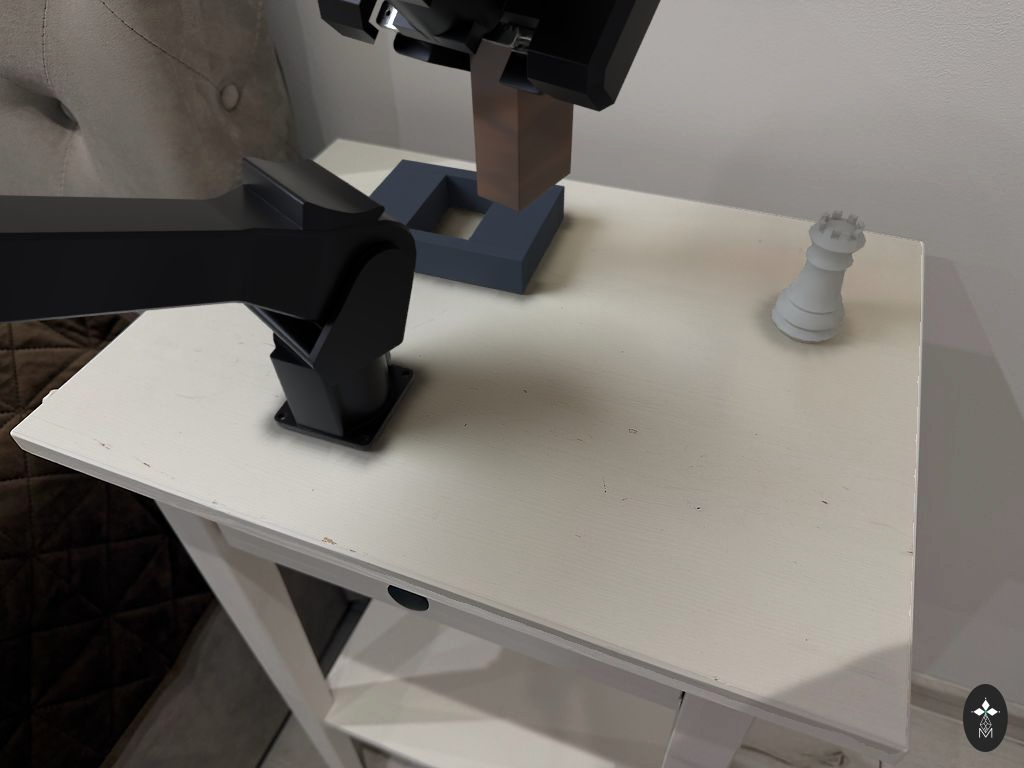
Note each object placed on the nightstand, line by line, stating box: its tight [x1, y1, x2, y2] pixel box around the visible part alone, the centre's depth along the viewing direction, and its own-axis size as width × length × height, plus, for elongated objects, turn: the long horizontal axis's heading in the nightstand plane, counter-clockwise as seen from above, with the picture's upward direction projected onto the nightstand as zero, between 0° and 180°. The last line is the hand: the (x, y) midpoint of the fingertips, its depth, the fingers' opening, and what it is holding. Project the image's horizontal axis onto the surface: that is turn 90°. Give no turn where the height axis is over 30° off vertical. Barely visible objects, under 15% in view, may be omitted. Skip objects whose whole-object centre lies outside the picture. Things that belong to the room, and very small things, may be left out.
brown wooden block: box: [469, 24, 575, 211], centre depth 43 cm, size 4×6×12 cm, turn 143°
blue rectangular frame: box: [368, 158, 566, 295], centre depth 53 cm, size 10×14×3 cm
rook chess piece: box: [771, 210, 867, 344], centre depth 44 cm, size 4×4×8 cm
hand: (537, 79), depth 43 cm, fingers closed on brown wooden block, 3 cm apart
